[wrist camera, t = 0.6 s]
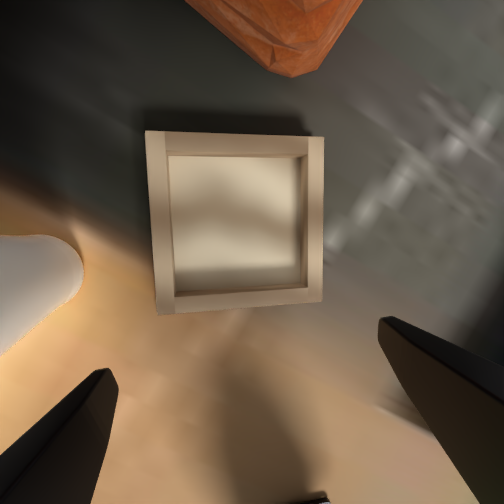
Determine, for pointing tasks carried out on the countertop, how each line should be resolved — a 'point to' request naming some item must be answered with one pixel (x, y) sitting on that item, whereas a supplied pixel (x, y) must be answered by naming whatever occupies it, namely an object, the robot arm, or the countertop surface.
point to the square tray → (235, 219)
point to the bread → (280, 29)
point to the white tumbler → (34, 282)
